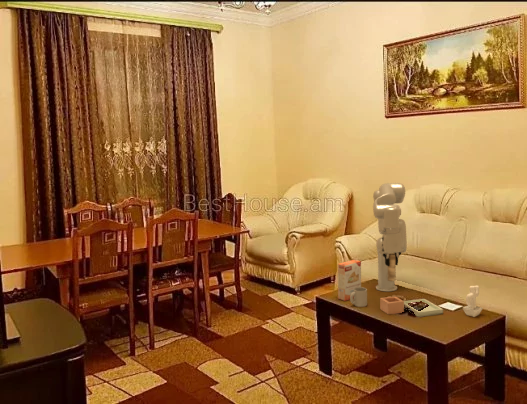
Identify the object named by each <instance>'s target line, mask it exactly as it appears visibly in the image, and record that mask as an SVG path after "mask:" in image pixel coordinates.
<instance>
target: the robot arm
mask: <svg viewBox="0 0 527 404" xmlns="http://www.w3.org/2000/svg"><path fill="white" fill-rule="evenodd" d="M405 196H406V188H405V185H404V183H400V182H397V183H396V182H395V183H394V182H393V183H392V182H391V183H389V182H387V183H383V184H381V185H380V186H379V189H376V190H375V191H374V192H373V197H372V198H373V205H372V209H373V210H372V211H373V216H374V218H376V219H377V225H378V232H379V234H381V235H382V236H381V237H379V238H378V239H376V250H377V269H378V270H377V273H378V275H377V278H378V279H377V283H378V284H377V285H375V288H376V289H375V290H377V291H380V292H394V291H397V290H398V286H397V285H395V282H396V281H388V266H390V259H389V253H394V254H396V266H398V264H399V258H400V256H401V255H402V254H403V253H406V252H407V249H408V248H407V247H408V244H407V243H408V241H407V226H406V225H407V224H406V222H405V220H404V219H401V218H400V216H401V215H402V207H400V205H398V204H401V203H403V202H404V200H405V198H406V197H405Z"/></svg>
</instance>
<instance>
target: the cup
mask: <svg viewBox="0 0 527 404" xmlns="http://www.w3.org/2000/svg"><path fill="white" fill-rule="evenodd" d="M353 296H354V298H353ZM349 301H350V303H351V304H352V305H354V306H355V307H359V308H360V307H361V308H365V307H367V305H368V289H367V288H366V287H363V286H361V287H357V288H354V292H352V293H351V295H350V299H349Z"/></svg>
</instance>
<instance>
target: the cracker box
mask: <svg viewBox="0 0 527 404" xmlns="http://www.w3.org/2000/svg"><path fill="white" fill-rule="evenodd" d="M357 287H362V261H360V260H357V259H352V260H351V259H350V260H348V261H345V262H340V263H337V299H338V300H341V301H344V302H345V301H350V295H351V293H352V292H354V288H357ZM353 299H354V296H353Z"/></svg>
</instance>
